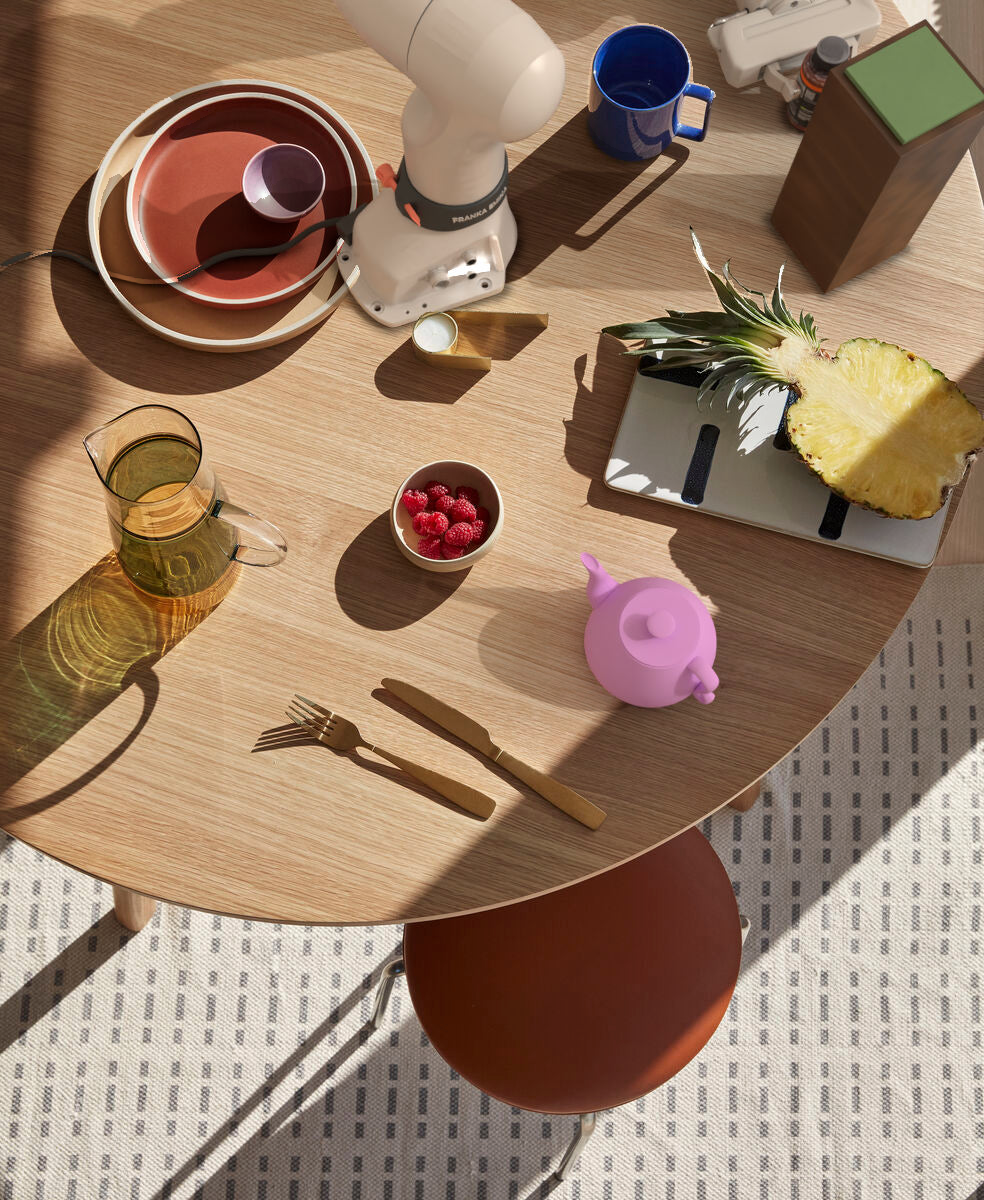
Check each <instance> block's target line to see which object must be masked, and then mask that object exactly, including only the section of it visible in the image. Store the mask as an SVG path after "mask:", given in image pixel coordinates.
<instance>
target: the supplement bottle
mask: <svg viewBox="0 0 984 1200" xmlns="http://www.w3.org/2000/svg"><path fill="white" fill-rule="evenodd" d="M849 55H850V47H849V44H848V43H847V42H846V41H845V40H844V39H843V38H841V37H838V36H827V37H825V38H823V39H821V40H820V41H819V43H818V44H817V47H815V48H814V49H812V50H811V51H810V52H808V54H807V55H806V56H805V58H804V60H803V62H802V65H801V67H800V69H799V71H798V74H797V77H796V78H795V79H796V80H797V82H798V85H799V86H800V88H801V94H800V95H799V98H798V99H795V100H792V101H790V102H787V106H786V116H787V119H788V121H789V123H791V125H792V126H793V127H795V128H796V129H798V130H799V131H802V132H805V130H806V128H807V126H808V123H809V121H810V118H811V116H812V113H813V111H814V108H815V106H816V103H817V101H818V98H819V96H820V94H821V91H822V89H823V86H824V84H825V81H826V79H827V76H828V74H829V71H830V70H831V69H833V68H834V67H836V66H838V65H840V64H842V63H844V62H846V61H848V60H849Z"/></svg>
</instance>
